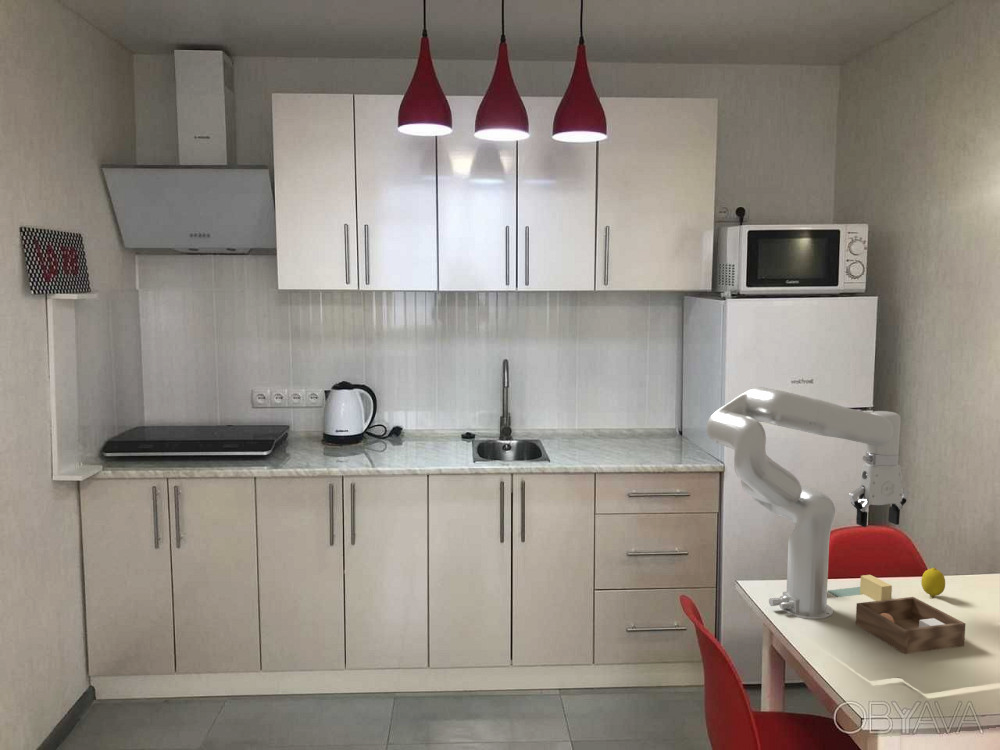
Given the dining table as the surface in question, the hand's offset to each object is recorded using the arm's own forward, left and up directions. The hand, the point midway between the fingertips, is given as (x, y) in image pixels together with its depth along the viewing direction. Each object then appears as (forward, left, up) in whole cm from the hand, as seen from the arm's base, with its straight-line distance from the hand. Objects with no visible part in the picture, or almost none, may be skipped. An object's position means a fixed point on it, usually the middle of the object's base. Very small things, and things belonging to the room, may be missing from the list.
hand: (877, 524), depth 205 cm
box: (-8, -21, -21) cm, 30 cm away
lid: (0, 0, -21) cm, 21 cm away
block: (-4, -24, -20) cm, 32 cm away
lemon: (+16, -2, -21) cm, 26 cm away
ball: (-11, -17, -20) cm, 29 cm away
